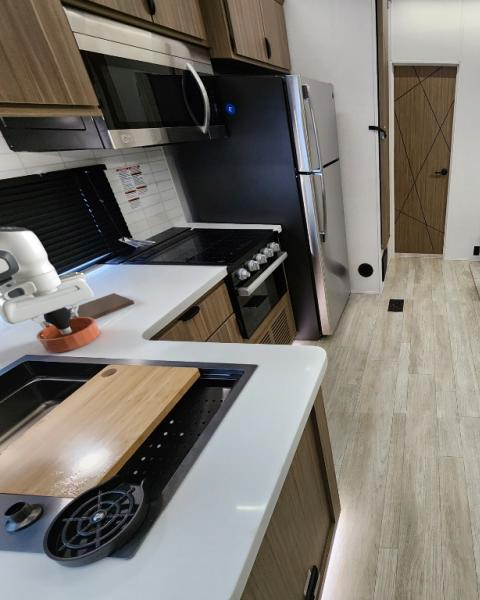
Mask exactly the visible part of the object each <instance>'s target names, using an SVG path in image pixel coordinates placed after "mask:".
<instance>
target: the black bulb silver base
mask: <svg viewBox="0 0 480 600" xmlns="http://www.w3.org/2000/svg"><path fill="white" fill-rule="evenodd" d="M68 309H69V308H67V307H64V308H61V309H57V310H54V311H52V312H49V313H46V314H43V319H44V321H46V322H48V323H49V325H54V326H55V327H56V328H57V329H58V330H60V332H61V334H63V335H69V334H70V333H71V332H72V330H71V328H70V323H69V320H70V319H71V313H70V311H69V310H68Z"/></svg>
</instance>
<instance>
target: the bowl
mask: <svg viewBox="0 0 480 600" xmlns="http://www.w3.org/2000/svg"><path fill="white" fill-rule="evenodd" d="M69 323H70V328H71V330H72V332H71V333H70V334H69V335H63V334H61V332H60V330H58V329H57V328H56V327H55V326H54V325H52V324H49V325H50V327H48V328H45V329H43V328H42V329H41V330H40V331H38V333H37V334H36V340H37V341H38V342H39V344H40V346H41V347H42V349H43V351H45V352H47V353H62V352H68V351H71V350H75V349H78V348H81V347H83V346H85V345H88V344H90V343H91V342H92V341H95V340H96V339H97V338H98V337H99V336H100V334H101V330H100V328H99V326H98V324H97V322H96V319H93V318H91V317H77V318H70V320H69Z"/></svg>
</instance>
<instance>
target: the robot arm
mask: <svg viewBox="0 0 480 600" xmlns="http://www.w3.org/2000/svg"><path fill="white" fill-rule="evenodd" d="M48 257H49V256H48V253H47V251H46V249H45V248H44V246H43V244H42V242H41V241H40V239H39V238H38V236H37V235H36V234H35V233H34V232H33V230H30V229H28V228H25V227H21V226H0V281H1V280H4V279H6V278H9V277H11V280H8V281H7V282H6V283H3V284H2V285H0V316H1V318H2V320H3V321H4V322H5V323H7V324H9V325H16V324H19V323H22V322H25V321H28V320H31V321H33V322H35V323H37V324H39V325H40V327H41V328H42V330H43V329H45V328H48V327H50V325H51V324H50V323H48V322H46V321H45V320H43V321H41V320H40V319H41V317H40V316H44V314H46V313H49V312H52V311H54V310H57V309H61V308H64V307H65V308H67V307H71V308H72V312H70V313H71V318H76V317H79V315H78V313H77V311H78V307H79V305H80V304H79V303H82V302H84V301H88V300H90V299H93V298H94V295H95V292H93V290H92V288H91V287H90V285H89V284H88V283H87V282H88V280H87V279H88V278H87V277H86V275H85V274H84V273H83V272H78V271H72V272H70V273H66V274H62V275H59V274H58V272H57V270H56V268H55V267H54V265H53V264H51V262H50V261H49V258H48ZM71 318H70V319H71Z"/></svg>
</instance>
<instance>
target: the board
mask: <svg viewBox="0 0 480 600" xmlns="http://www.w3.org/2000/svg"><path fill="white" fill-rule="evenodd" d="M134 304H135V302H134V300H133V299H130V298H128V297H125V296H123V295H120V294H117V293H115V292H112V293H110V294H107V295H104V296H101V297H99V298H96V299H93V300H90V301H88V302H85V303H81V304H78V305H79V307H78V311H77V313H78V315H79V317H91V318H93V319H94V320H97V319H99V318H102V317H104V316H107V315H109V314H111V313H114V312H116V311H120V310H122V309H125V308H127V307H129V306H131V305H134ZM67 309H68V310H69V311H70V312H72V307H71V308H67ZM76 318H77V317H76Z"/></svg>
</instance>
